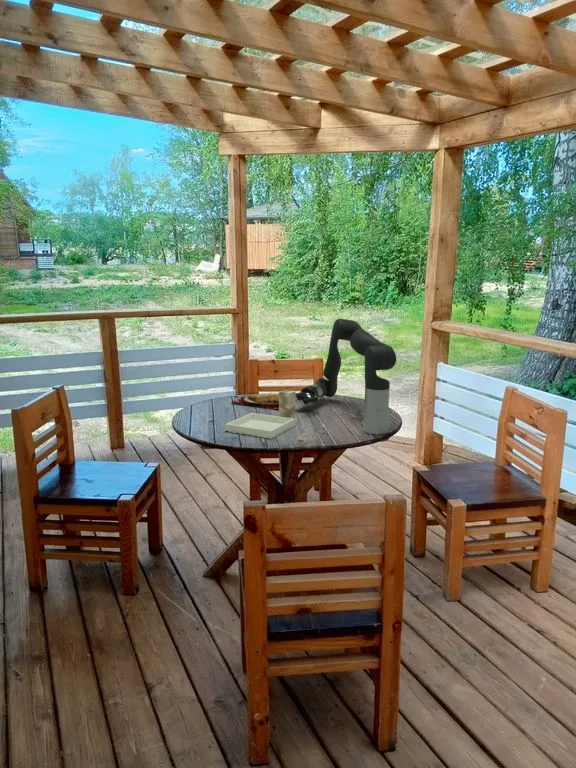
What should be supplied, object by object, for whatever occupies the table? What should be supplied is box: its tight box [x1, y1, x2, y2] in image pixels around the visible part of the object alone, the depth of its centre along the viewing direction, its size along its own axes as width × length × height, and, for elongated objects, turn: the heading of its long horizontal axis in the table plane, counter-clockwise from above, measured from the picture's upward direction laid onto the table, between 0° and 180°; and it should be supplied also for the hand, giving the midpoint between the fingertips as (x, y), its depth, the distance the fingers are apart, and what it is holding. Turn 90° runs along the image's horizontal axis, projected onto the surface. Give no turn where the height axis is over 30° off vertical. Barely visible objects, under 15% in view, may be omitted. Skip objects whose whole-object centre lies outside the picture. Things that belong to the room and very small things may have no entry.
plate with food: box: [230, 393, 302, 410], centre depth 260 cm, size 25×26×4 cm
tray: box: [224, 412, 296, 440], centre depth 215 cm, size 20×20×3 cm
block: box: [278, 389, 296, 420], centre depth 227 cm, size 5×5×12 cm
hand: (295, 400), depth 233 cm, fingers open, 8 cm apart
